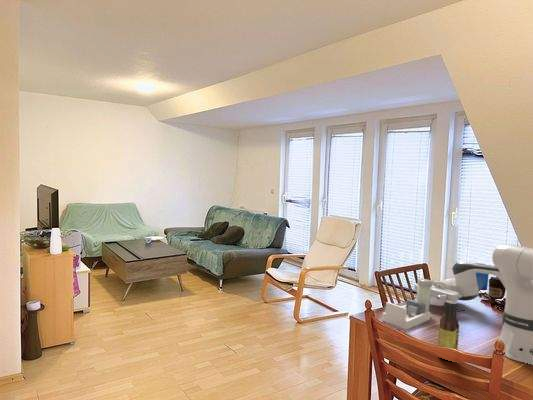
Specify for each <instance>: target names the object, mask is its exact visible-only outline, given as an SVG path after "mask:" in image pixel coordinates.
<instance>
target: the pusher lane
mask: <svg viewBox="0 0 533 400" xmlns="http://www.w3.org/2000/svg"><path fill="white" fill-rule="evenodd" d="M381 318H382V319H381V321H382V322H385V323H388V324H390V325H393V326H395V327H398V328H401V329H403V330H406V331H407V330H409V329H411V328H414V327H416V326H419V325H420V324H423V323H425V322H427V321H430V319H431V311H430V310H429V311H427V312H425V313H422V314H420V315H414V314H411V313H408V312H407V308H406V304H405V305H398V304H395V303H392V302H389V301H386V302H385V311H384V312H382V317H381Z"/></svg>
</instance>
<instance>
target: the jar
mask: <svg viewBox="0 0 533 400" xmlns="http://www.w3.org/2000/svg"><path fill="white" fill-rule="evenodd" d="M432 281H433V280H430V279H426V278H418V279H417V283H418V289H417V292H416V300H415V302H418V303H421V304H425V305H426V306H425V312H427V311H429V312H430V303H431V302H430V301H431V296H430V293H431V286H432ZM417 283H416V284H417Z"/></svg>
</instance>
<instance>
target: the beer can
mask: <svg viewBox="0 0 533 400" xmlns="http://www.w3.org/2000/svg"><path fill="white" fill-rule="evenodd" d="M475 263H476V264H483V265H487V264H486V263H485V264H484V263H479V262H475ZM489 276H490V274H484V273H477V272H476V278H477V284H478V289H479V291H480V290H487V291H488V288H489Z"/></svg>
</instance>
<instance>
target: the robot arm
mask: <svg viewBox="0 0 533 400" xmlns="http://www.w3.org/2000/svg"><path fill="white" fill-rule="evenodd" d="M491 256H492V257H491V260H492V263H493V265H490V264H486V265H483V264H484V263H481V264H476V263H477V262H475V263H474V262H469V261H464V260H463V261H461V260H460V261H457V262H455V264H454V265H453V267H452V268H451V270H452V274H453V277H452V278H451V277H450V278H445V279H443V280H431V281H432V286H431V293H430V297H433V298H436V299H437V300H439V301H446V300H450V301H455V302H457V303H458V301H463V302H464V301H471V300H475V299H476V298H477V297H478V296H479V295H480V294H479V289H478V284H477V278H476V272H477V273H484V274H489V275H491V276H492V275H493V277H497V278H499V280H500V281H501V282H502V284H503V285H504V287H505V289H506V291H505V308H504V309H505V310H503V312H502V317H501V318H502V319H501V323H502V328H501V333H500V336H499V337H498V341H499V340H501V341H503V343H504V344H505V350H504V352H505V354H504V355H505V356H506V357H507V358H508V359H510V360H514V361H517V362H520V363H523V362H524V364H527V363H528V364H527V365H530V364H531V366H533V248H531V247H526V246H523V245H518V244H500V245H498V246H496V247H495V249H494V250H493V252H492V255H491ZM413 288H414V292H416V293H417V289H418V283H415V284H414V287H413Z"/></svg>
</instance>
